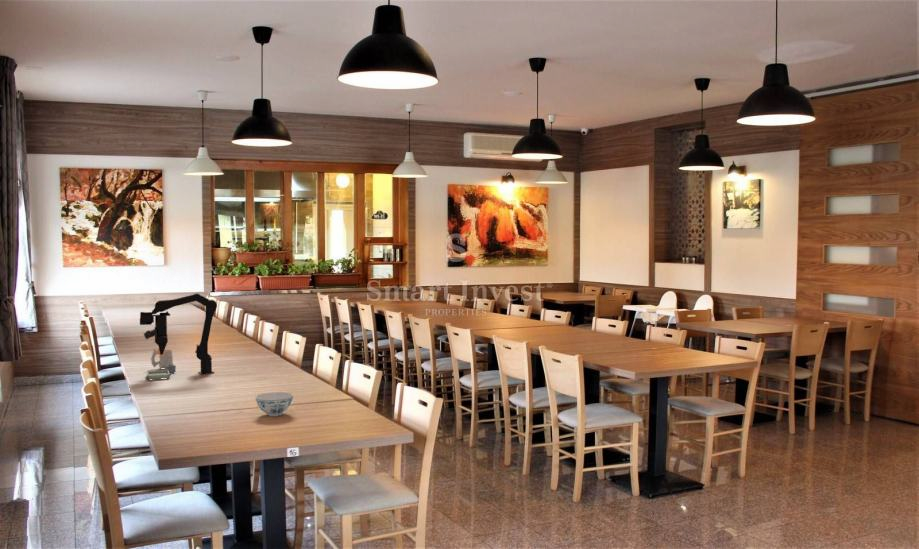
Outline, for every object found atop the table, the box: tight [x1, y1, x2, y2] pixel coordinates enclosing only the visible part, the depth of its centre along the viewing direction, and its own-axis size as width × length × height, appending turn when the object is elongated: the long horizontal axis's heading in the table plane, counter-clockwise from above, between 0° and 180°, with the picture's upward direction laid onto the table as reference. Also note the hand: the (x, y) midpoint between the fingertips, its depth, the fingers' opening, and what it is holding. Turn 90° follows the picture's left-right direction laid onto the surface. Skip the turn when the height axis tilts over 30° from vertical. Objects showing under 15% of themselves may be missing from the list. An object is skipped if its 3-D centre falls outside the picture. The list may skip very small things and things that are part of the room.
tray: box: [146, 369, 171, 381], centre depth 408 cm, size 15×11×2 cm
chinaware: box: [255, 391, 294, 417], centre depth 320 cm, size 15×15×8 cm
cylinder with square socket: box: [164, 364, 177, 374], centre depth 421 cm, size 5×5×4 cm
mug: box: [150, 347, 175, 369], centre depth 435 cm, size 8×12×12 cm, turn 120°
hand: (161, 354), depth 412 cm, fingers closed on ball, 4 cm apart
